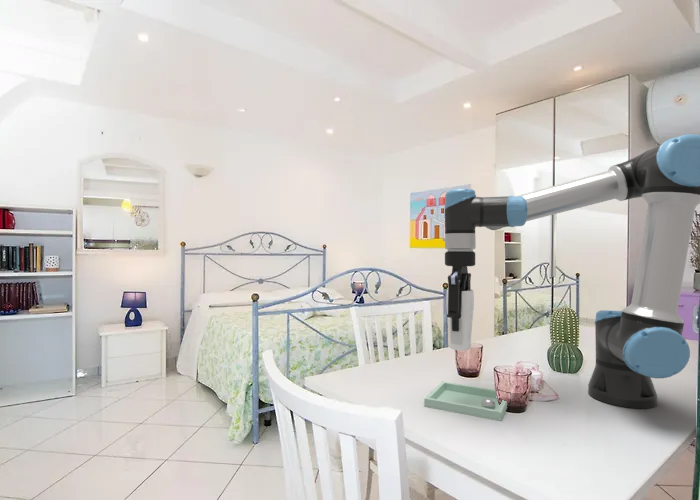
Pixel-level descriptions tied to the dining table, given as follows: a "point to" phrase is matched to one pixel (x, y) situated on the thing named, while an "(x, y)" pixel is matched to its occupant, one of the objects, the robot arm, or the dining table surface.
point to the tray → (465, 400)
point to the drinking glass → (463, 320)
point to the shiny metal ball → (488, 403)
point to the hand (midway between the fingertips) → (460, 341)
